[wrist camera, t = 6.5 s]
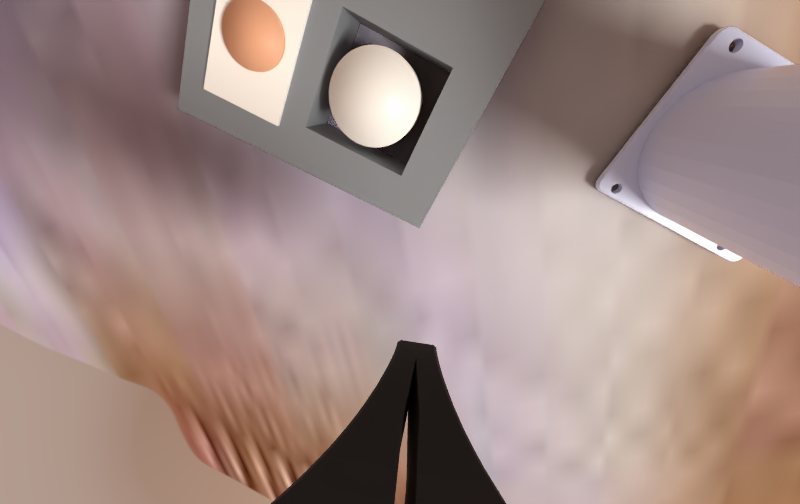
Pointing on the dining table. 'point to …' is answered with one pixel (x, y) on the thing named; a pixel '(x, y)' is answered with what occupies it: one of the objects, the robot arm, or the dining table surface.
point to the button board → (312, 70)
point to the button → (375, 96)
